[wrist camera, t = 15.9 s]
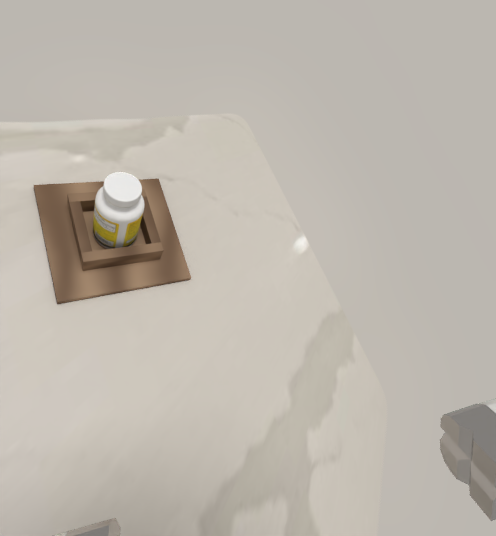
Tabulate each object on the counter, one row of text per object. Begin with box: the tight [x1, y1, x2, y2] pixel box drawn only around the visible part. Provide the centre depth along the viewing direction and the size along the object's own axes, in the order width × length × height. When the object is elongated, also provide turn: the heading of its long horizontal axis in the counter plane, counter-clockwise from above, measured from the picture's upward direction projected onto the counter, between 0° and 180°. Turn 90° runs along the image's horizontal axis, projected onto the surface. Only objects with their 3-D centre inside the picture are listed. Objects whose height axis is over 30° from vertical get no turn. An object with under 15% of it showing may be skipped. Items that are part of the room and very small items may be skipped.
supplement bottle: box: [93, 172, 145, 249], centre depth 46 cm, size 5×5×10 cm
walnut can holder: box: [34, 179, 191, 304], centre depth 50 cm, size 16×16×3 cm
